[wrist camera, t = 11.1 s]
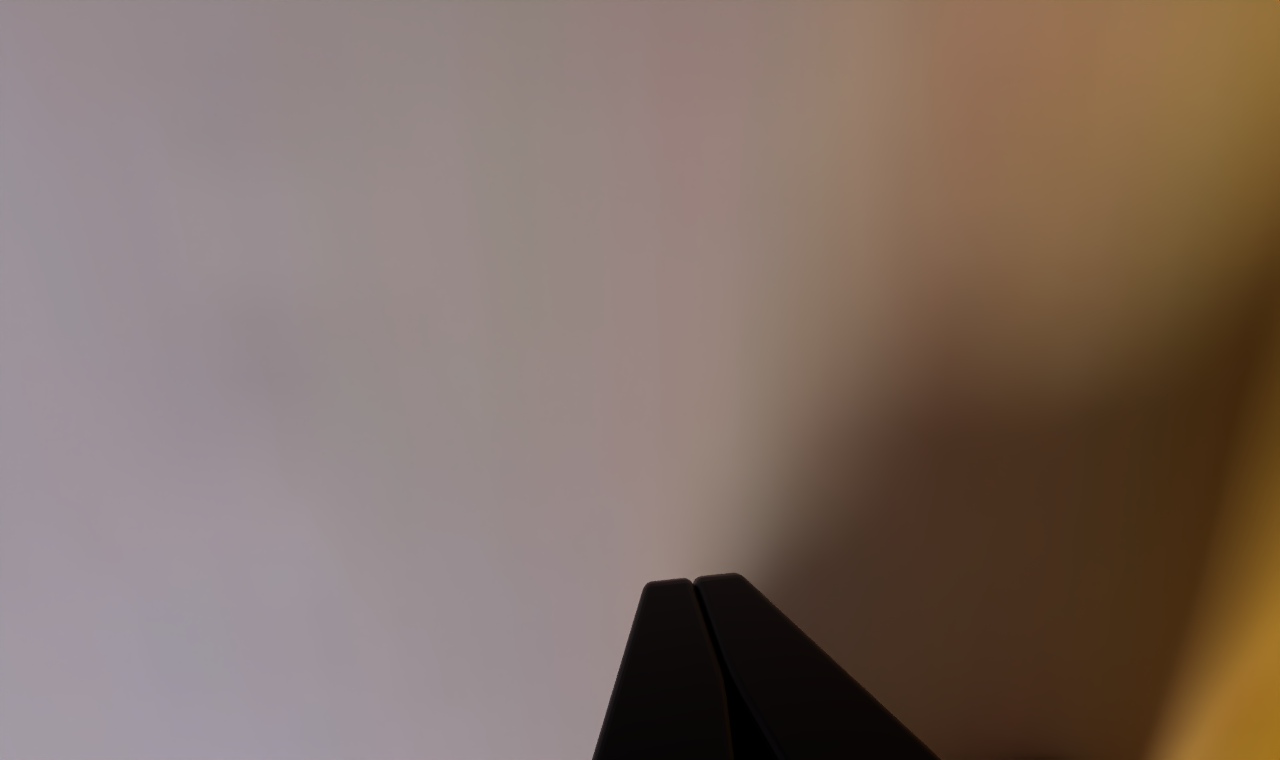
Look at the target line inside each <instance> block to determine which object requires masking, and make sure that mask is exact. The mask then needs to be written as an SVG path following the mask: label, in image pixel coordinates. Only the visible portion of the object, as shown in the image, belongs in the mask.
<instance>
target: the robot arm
mask: <svg viewBox="0 0 1280 760" xmlns="http://www.w3.org/2000/svg"><path fill="white" fill-rule="evenodd" d="M592 760H941V759H940V758H939V757H938V756H937V755H936V754H935V753H934V752H932V751H931V750H930V749H929V748H928V747H927V746H926V745H925V744H924V743H923V742H922V741H921V740H920V739H918V738H917V737H916V736H915V735H914V734H913V733H912V732H911V731H910V730H909V729H908V728H907V727H905V726H904V725H903V724H902V723H901V722H900V721H899V720H898V719H897V718H896V717H895V716H894V715H892V714H891V713H890V712H889V711H888V710H887V709H886V708H885V707H884V706H883V705H882V704H881V703H880V702H878V701H877V700H876V699H875V698H874V697H873V696H872V695H871V694H870V693H869V692H868V691H867V690H865V689H864V688H863V687H862V686H861V685H860V684H859V683H858V682H857V681H856V680H855V679H854V678H853V677H851V676H850V675H849V674H848V673H847V672H846V671H845V670H844V669H843V668H842V667H841V666H840V665H838V664H837V663H836V662H835V661H834V660H833V659H832V658H831V657H830V656H829V655H828V654H827V653H825V652H824V651H823V650H822V649H821V648H820V647H819V646H818V645H817V644H816V643H815V642H814V641H813V640H811V639H810V638H809V637H808V636H807V635H806V634H805V633H804V632H803V631H802V630H801V629H800V628H798V627H797V626H796V625H795V624H794V623H793V622H792V621H791V620H790V619H789V618H788V617H787V616H786V615H784V614H783V613H782V612H781V611H780V610H779V609H778V608H777V607H776V606H775V605H774V604H773V603H771V602H770V601H769V600H768V599H767V598H766V597H765V596H764V595H763V594H762V593H761V592H760V591H758V590H757V589H756V588H755V587H754V586H753V585H752V584H751V583H750V582H749V581H748V580H747V579H746V578H744V577H743V576H741V575H739V574H737V573H727V574H717V575H708V576H700V577H698V578H696V579H695V581H694V582H693V583H692V582H691V581H690V580H688V579H686V578H680V579H670V580H661V581H652V582H649V583H647V584H646V585H645V587H644V588H643V591H642V594H641V598H640V601H639V604H638V608H637V611H636V614H635V618H634V621H633V624H632V628H631V631H630V634H629V638H628V641H627V645H626V648H625V651H624V655H623V658H622V661H621V665H620V668H619V671H618V675H617V678H616V681H615V685H614V688H613V691H612V695H611V698H610V701H609V705H608V708H607V712H606V715H605V718H604V722H603V725H602V728H601V732H600V735H599V738H598V742H597V745H596V748H595V752H594V755H593V758H592Z"/></svg>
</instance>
